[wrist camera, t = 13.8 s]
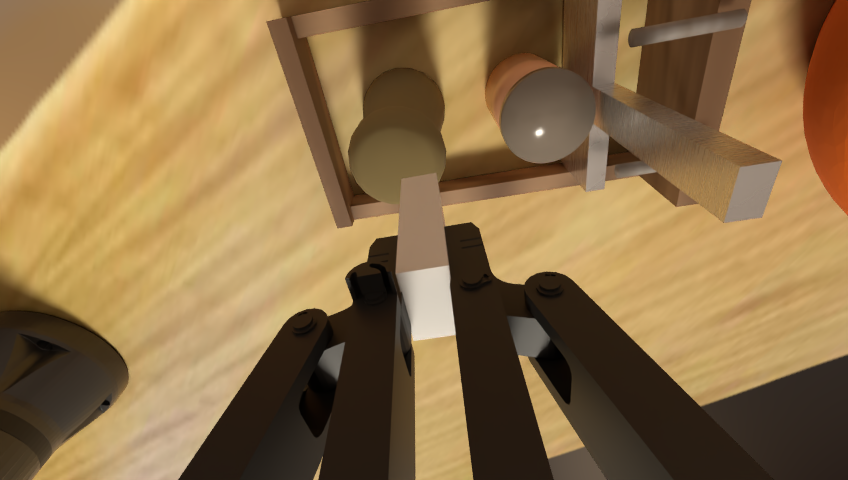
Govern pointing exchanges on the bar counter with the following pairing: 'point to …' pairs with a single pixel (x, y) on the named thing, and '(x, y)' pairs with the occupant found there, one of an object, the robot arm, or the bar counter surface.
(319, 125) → the lane
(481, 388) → the robot arm
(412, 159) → the pepper mill
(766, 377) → the bar counter surface
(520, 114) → the terracotta spice jar
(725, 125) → the bar counter surface
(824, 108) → the bowl
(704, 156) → the pusher
